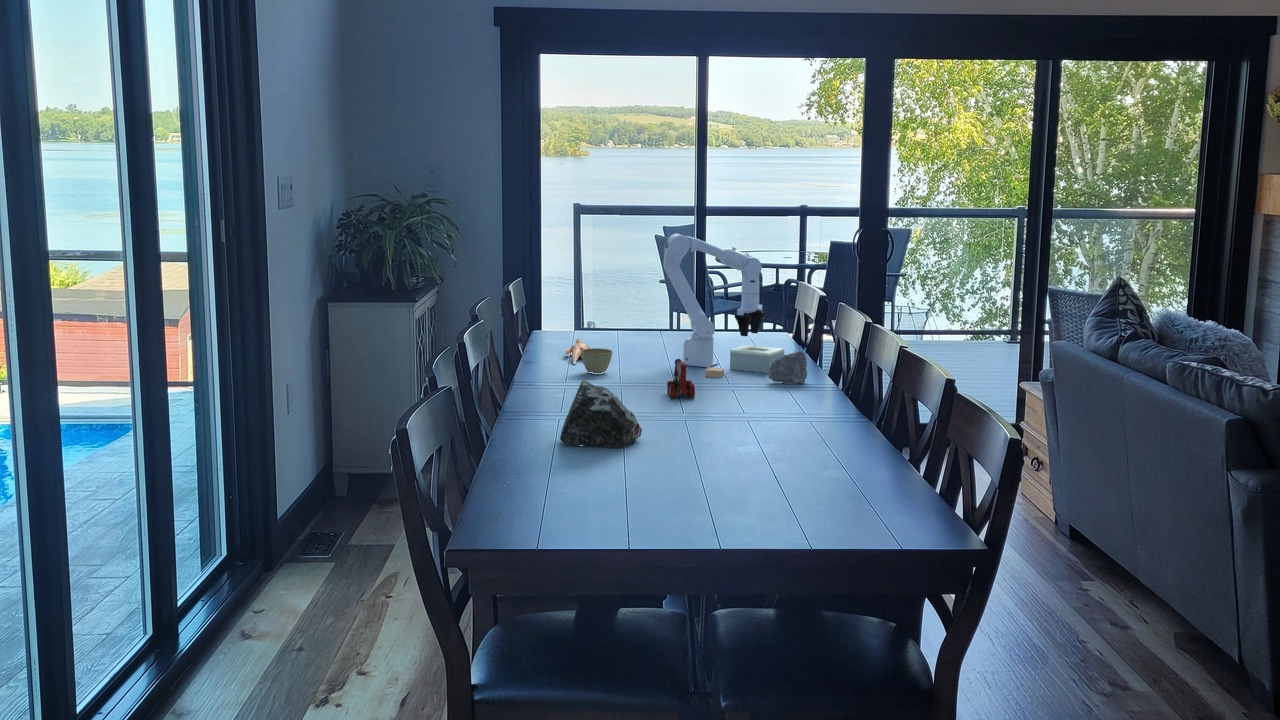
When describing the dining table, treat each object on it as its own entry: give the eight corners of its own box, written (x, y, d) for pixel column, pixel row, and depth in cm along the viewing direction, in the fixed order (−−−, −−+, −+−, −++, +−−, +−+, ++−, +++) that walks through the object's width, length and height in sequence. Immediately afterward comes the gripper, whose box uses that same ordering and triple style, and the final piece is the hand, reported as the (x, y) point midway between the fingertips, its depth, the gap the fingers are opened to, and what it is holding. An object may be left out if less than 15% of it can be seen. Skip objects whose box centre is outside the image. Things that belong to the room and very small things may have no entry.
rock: (806, 381, 331) (807, 349, 329) (808, 385, 326) (809, 352, 324) (767, 381, 332) (768, 348, 330) (768, 384, 326) (769, 351, 324)
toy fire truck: (689, 391, 316) (689, 356, 314) (695, 400, 304) (696, 364, 302) (665, 391, 315) (666, 356, 313) (671, 401, 303) (671, 364, 301)
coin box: (729, 369, 350) (730, 349, 349) (745, 363, 359) (745, 344, 358) (769, 373, 343) (769, 353, 342) (783, 368, 352) (784, 348, 351)
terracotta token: (705, 377, 337) (705, 370, 337) (707, 374, 342) (707, 367, 342) (721, 378, 336) (721, 371, 336) (723, 375, 341) (723, 368, 341)
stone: (595, 469, 245) (620, 411, 241) (535, 430, 252) (559, 373, 249) (636, 459, 261) (660, 405, 257) (578, 423, 269) (601, 369, 265)
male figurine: (567, 355, 355) (563, 337, 379) (567, 370, 356) (563, 351, 380) (600, 355, 356) (593, 337, 380) (600, 369, 358) (593, 350, 382)
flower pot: (575, 374, 339) (575, 352, 338) (588, 369, 349) (588, 347, 347) (604, 377, 336) (604, 354, 334) (617, 371, 345) (617, 349, 344)
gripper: (751, 296, 347) (750, 338, 349) (771, 292, 359) (769, 332, 361) (731, 295, 351) (730, 336, 353) (751, 290, 363) (750, 331, 365)
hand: (749, 334), depth 357 cm, fingers open, 7 cm apart
